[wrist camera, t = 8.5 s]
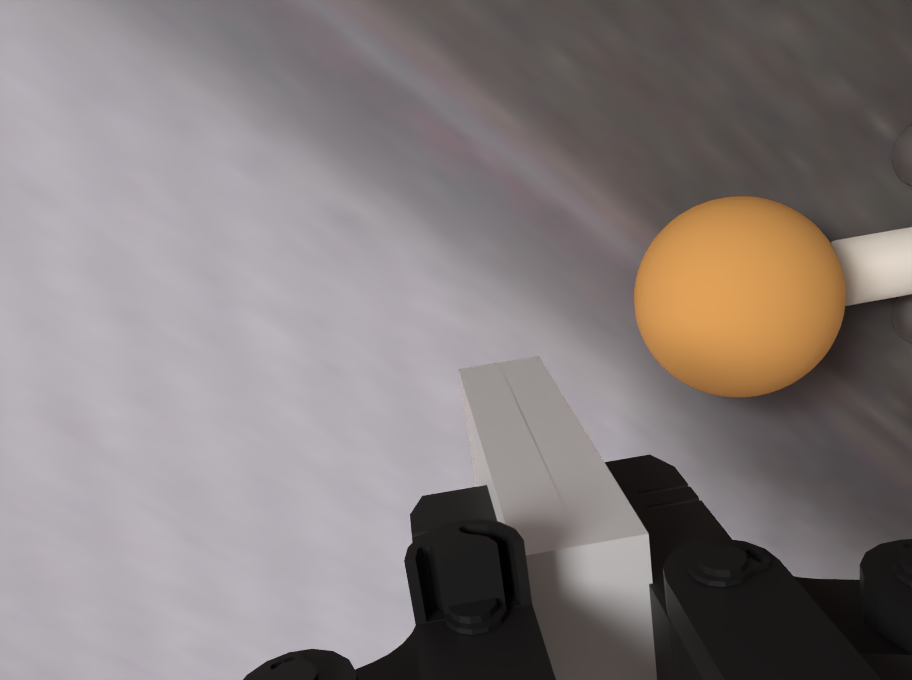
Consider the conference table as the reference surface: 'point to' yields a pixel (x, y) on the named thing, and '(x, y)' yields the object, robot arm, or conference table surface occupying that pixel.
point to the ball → (740, 296)
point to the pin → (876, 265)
